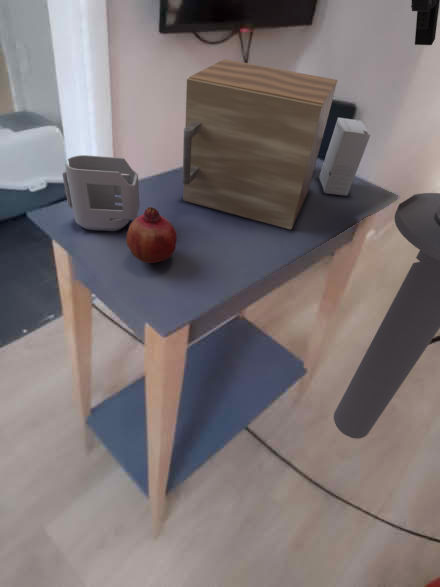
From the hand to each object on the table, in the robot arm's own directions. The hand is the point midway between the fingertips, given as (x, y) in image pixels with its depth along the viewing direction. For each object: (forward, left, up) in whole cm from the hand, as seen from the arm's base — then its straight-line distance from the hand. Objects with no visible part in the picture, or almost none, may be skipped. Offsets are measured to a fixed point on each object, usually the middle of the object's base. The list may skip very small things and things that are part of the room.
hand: (424, 41), depth 66 cm
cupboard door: (+24, +18, -32) cm, 44 cm away
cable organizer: (+44, +31, -32) cm, 63 cm away
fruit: (+32, +37, -32) cm, 59 cm away
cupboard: (+24, +6, -32) cm, 41 cm away
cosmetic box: (+7, -8, -32) cm, 34 cm away
